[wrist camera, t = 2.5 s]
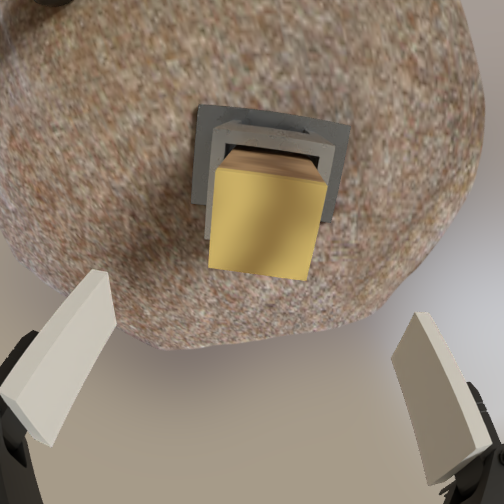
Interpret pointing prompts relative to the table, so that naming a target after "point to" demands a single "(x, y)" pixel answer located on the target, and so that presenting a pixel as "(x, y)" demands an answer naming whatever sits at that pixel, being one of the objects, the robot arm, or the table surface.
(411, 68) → the table surface
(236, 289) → the table surface
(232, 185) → the block
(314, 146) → the chute
